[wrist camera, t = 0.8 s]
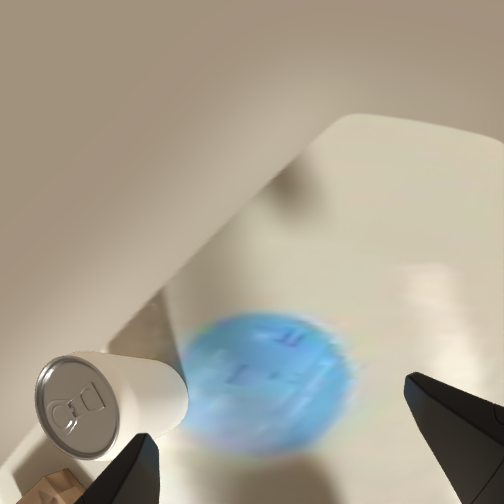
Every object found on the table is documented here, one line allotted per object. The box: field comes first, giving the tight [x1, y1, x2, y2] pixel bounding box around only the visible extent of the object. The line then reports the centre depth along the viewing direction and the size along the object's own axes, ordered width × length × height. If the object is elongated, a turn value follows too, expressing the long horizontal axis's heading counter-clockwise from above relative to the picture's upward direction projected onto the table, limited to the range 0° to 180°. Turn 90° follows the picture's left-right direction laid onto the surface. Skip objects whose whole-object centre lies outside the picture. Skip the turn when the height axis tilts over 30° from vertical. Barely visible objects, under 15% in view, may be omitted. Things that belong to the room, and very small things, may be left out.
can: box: [35, 351, 188, 461], centre depth 17 cm, size 6×6×12 cm
